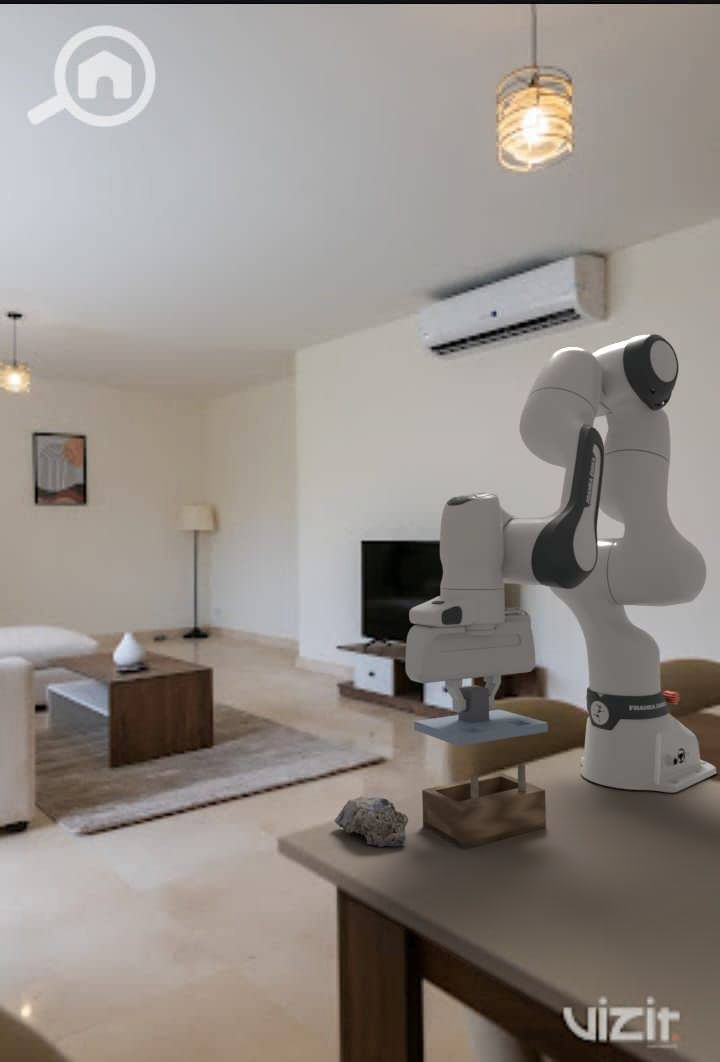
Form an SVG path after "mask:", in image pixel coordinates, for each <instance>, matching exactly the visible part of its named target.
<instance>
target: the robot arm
mask: <svg viewBox="0 0 720 1062" xmlns="http://www.w3.org/2000/svg"><path fill="white" fill-rule="evenodd" d="M679 369H680V368H679V360H678V355H677V354H676V351H675V348H674V347H673V346H672V344H671V343H670V342H669V341H667V340H666V339H665V338H664V337H663V336H662V335H660V334H655V333H654V334H652V333H651V334H650V333H649V334H640V335H637V336H633V337H631V338H630V339H627V340H624V341H620V342H617V343H613V344H609V345H607V346H605V347H601V348H600V349H598V350H597V351H595V352H591V351H589V350H586V349H584V348H581V347H573V346H572V347H566V348H561V349H559V350H557V351H555V352H554V353H552V355H550V356H549V357H548V359H547V361H546V362H545V363H544V365H543V367H542V368H541V369H540V371H539V373H538V375H537V377H536V378H535V380H534V383H533V385H532V387H531V390H530V391H529V394H528V396H527V399H526V400H525V404H524V406H523V409H522V411H521V415H520V419H519V433H520V437H521V440H522V441H523V444H524V445H525V447H526V449H528V450H529V452H531V454H533V455H534V456H535V457H537V458H538V459H540V460H542V461H543V462H544V463H548V464H550V465H552V466H557V467H560V468H564V469H565V470H564V471H565V473H564V478H563V486H562V493H561V499H560V505H559V508H558V509H557V510H555V512H553V513H551V514H549V515H546V516H542V517H539V516H538V517H523V518H520V517H515V516H514V515H512V514H510V513H508V512H507V511H506V510H505V509H504V508H503V507H502V506H501V504H500V499H499V495H497V494H495V493H492V492H477V493H476V492H475V493H471V494H470V493H469V494H462V495H458V496H455V497H452V498H450V499H449V500H447V501H446V502H445V504H444V507H443V510H442V514H441V519H440V520H441V521H440V531H439V534H440V535H439V559H440V562H441V566H442V577H441V581H440V589H439V590H440V592H439V593H440V595H438V596H436V597H434V598H432V599H430V600H427V601H425V602H423V603H421V604H418V605H416V606H414V607H412V608H410V610H409V612H408V614H409V615H408V617H409V621H410V623H411V624H414V625H413V626H412V627H411V628H410V629H409V631H408V633H407V637H406V643H405V660H404V661H405V662H404V663H405V664H404V665H405V673H406V675H407V677H408V678H409V679H410V681H413V682H417V683H421V684H428V683H438V682H444V687H445V688H446V690H447V693H448V694H449V695H450V697H451V699H452V701H451V702H452V703H451V704H452V711H454V712H455V713H459V712H466V711H468V710H469V707H468V704H469V699H467V698H463V696H462V694H461V691H460V689H459V687H463V680H466V679H475V678H483V682H486V683H485V686H484V687H485V688H489V709H493V708H495V696H496V694H497V692H498V690H499V688H500V685H501V683H502V678H501V677H502V676H503V675H511V674H513V675H514V674H520V673H521V674H523V673H528V672H532V670H533V669H534V667H535V665H536V660H537V659H536V650H535V641H534V635H533V631H532V620H531V619H532V618H531V615H530V614H529V613H528V612H527V611H526V610H525V609H524V608H523V607H520V606H515V607H505V606H506V604H505V601H506V598H505V596H506V595H505V584H514V585H515V584H516V585H526V586H530V585H531V586H545V587H549V589H550V590H551V592H552V593H553V594H554V595H555V596H556V597H557V598H558V599H560V600H561V602H563V603H564V604H565V605H566V606H567V607H568V608H569V610H570V611H571V612H572V613H573V615H574V617H575V618H576V620H577V622H578V625H579V626H580V629H581V630H582V631H581V632H582V633H583V636H584V641H585V644H586V654H587V663H588V664H587V665H588V666H587V667H588V687H587V688H586V697H585V700H586V710H587V712H588V717H587V719H586V725H585V737H584V751H583V756H581V757H580V765H581V769H580V774H581V776H582V777H583V778H585V779H586V780H588V781H590V782H593V783H595V784H598V785H602V786H605V787H610V788H616V789H624V790H637V791H642V790H643V791H655V792H663V793H677V792H680V791H682V790H684V789H686V788H688V787H690V786H692V785H695V784H697V783H699V782H701V781H703V780H705V779H707V778H710V777H711V776H713V775H716V774H717V767H715V765H714V764H711V763H709V762H707V761H705V760H702V759H701V756H700V755H701V753H700V747H699V741H698V739H697V736H696V735H695V734H694V732H692V731H691V730H690V729H689V728H687V727H686V726H685V725H684V724H683V723H681V722H680V721H679V720H678V719H677V718H676V717H674V716H673V715H672V714H670V708H669V705H668V703H669V704H672V705H678V704H679V702H680V699H681V697H680V694H679V692H676V691H670V690H665V691H664V692H663V691H662V690H661V656H660V655H661V654H660V647H659V644H658V643H657V642H656V641H657V640H655V638H654V637H653V636H652V635H651V634H650V633H649V632H647V631H646V630H644V629H642V628H640V627H638V626H636V625H635V624H634V623H633V622H632V621H631V620H630V619H629V617H628V615H627V613H626V610H625V606H639V607H641V606H642V607H668V606H676V605H682V604H686V603H691V602H693V601H694V600H695V599H696V598H697V597H698V596H699V595H700V594H701V592H702V591H703V589H704V587H705V583H706V581H707V566H706V561H705V559H704V556H703V554H702V553H701V552H700V550H699V549H698V547H697V546H695V545H694V544H693V543H692V542H691V541H689V540H688V539H687V538H686V537H684V536H683V535H682V534H681V533H680V531H679V530H678V529H677V528H676V527H675V525H674V523H673V522H672V519H671V516H670V513H669V508H668V486H669V485H668V484H669V473H670V472H669V471H670V463H671V462H670V461H671V434H670V433H671V430H670V422H669V416H668V415H667V413H666V411H665V410H664V409H663V408H664V407H665V406H667V404H668V403H669V401H670V400H671V397H672V393H673V391H674V389H675V387H676V383H677V380H678V374H679ZM600 417H605V418H606V422H607V429H608V430H607V432H606V436H605V440H604V441H603V438H602V436H601V433H599V431H598V430H597V428H596V427H594V422H595V420H596V418H600ZM599 510H601V511H602V512H603V514H605V515H606V516H608V517H610V518H611V519H612V520H614V521H616V522H619V523H620V524H623V525H624V533H623V536H622V537H617V538H614V537H613V538H612V537H611V538H598V519H599Z"/></svg>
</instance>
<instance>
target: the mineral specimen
mask: <svg viewBox="0 0 720 1062" xmlns="http://www.w3.org/2000/svg"><path fill="white" fill-rule="evenodd" d="M334 822H335V823H336V824H337V825H338V826H339V827H340V828H343V831H344V832H347V833H348V834H350V833H352V832H355V833H357V834H360V835H361V836H363V835H364V837H365V838H366V841H367V842H366V845H371V846H375V847H376V846H378V847H379V848H383V847H398V846H405V841H406V826H407V824H408V822H409V817H408V816H407V815H406V813H402V812H400V811H397V810H396V807H395V805H394V803H393V802H392V801H390V799H387V798H382V797H370V796H369V797H368V796H359V797H357V798H354V799H349V800H347V802H346V803H345V805H344V806H343V807H342V809H341V811H340V812H339V813H338V815H337V816H336V818H335V819H334Z"/></svg>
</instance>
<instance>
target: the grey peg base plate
mask: <svg viewBox="0 0 720 1062" xmlns="http://www.w3.org/2000/svg"><path fill="white" fill-rule="evenodd" d="M459 689H460V691H461V694H462V696H463V698H467V699H469V704H468V707H469V710H468V711H466V712H459V713H458V712H457V713H458V714H456V715H449V716H443V717H436V718H427V719H419V720H414V722H413V723H414V724H413V727H414V729H413V730H414V731H416V732H419V733H422V734H424V735H428V736H429V737H432V738H435V739H438V740H440V741H444V742H445V743H449V744H452V745H454V746H457V747H461V746H466V745H467V746H468V745H474V744H480V743H486V742H493V741H498V740H504V739H511V738H516V737H523V736H530V735H536V734H541V733H543V734H544V733H547V732H548V731H549V724H548V722H547V721H543V720H538V719H536V718H532V717H528V716H525V715H521V714H518V713H513V712H511V711H506V710H503V709H493V710H490V708H489V688H485V686H480V685H473V684H472V685H463V686H462V687H459Z"/></svg>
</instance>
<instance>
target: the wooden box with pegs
mask: <svg viewBox="0 0 720 1062" xmlns="http://www.w3.org/2000/svg"><path fill="white" fill-rule="evenodd" d="M421 790H422V791H421V793H422V794H421V795H422V827H423V826H424V827H423V828H425V827H426V828H425V829H427V830H428V829H429V831H430V830H431V832H432V833H433V834H436V835H437V836H439V837H440V838H442V839H444V840H446V841H448V842H450V843H451V844H453V845H455V846H456V847H458V848H460V849H462V850H465V849H469V848H474V847H477V846H481V845H484V844H488V843H491V842H496V841H499V840H502V839H506V838H510V837H514V836H518V835H522V834H525V833H528V832H533V831H536V830H540V829H543V828H546V827H547V818H546V817H547V812H546V811H547V809H546V808H547V806H546V789H544V788H541V787H539V786H537V785H534V784H532V783H529V782H527V781H526V764H523V763H520V764H517V777H514V776H511V775H509V774H507V773H505V772H504V773H503V772H499V773H494V774H489V775H485V776H480V777H479V774H477V773H471V774H470V779H467V780H461V781H457V782H452V783H448V784H442V785H439V786H433V787H428V788H424V789H421Z"/></svg>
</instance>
